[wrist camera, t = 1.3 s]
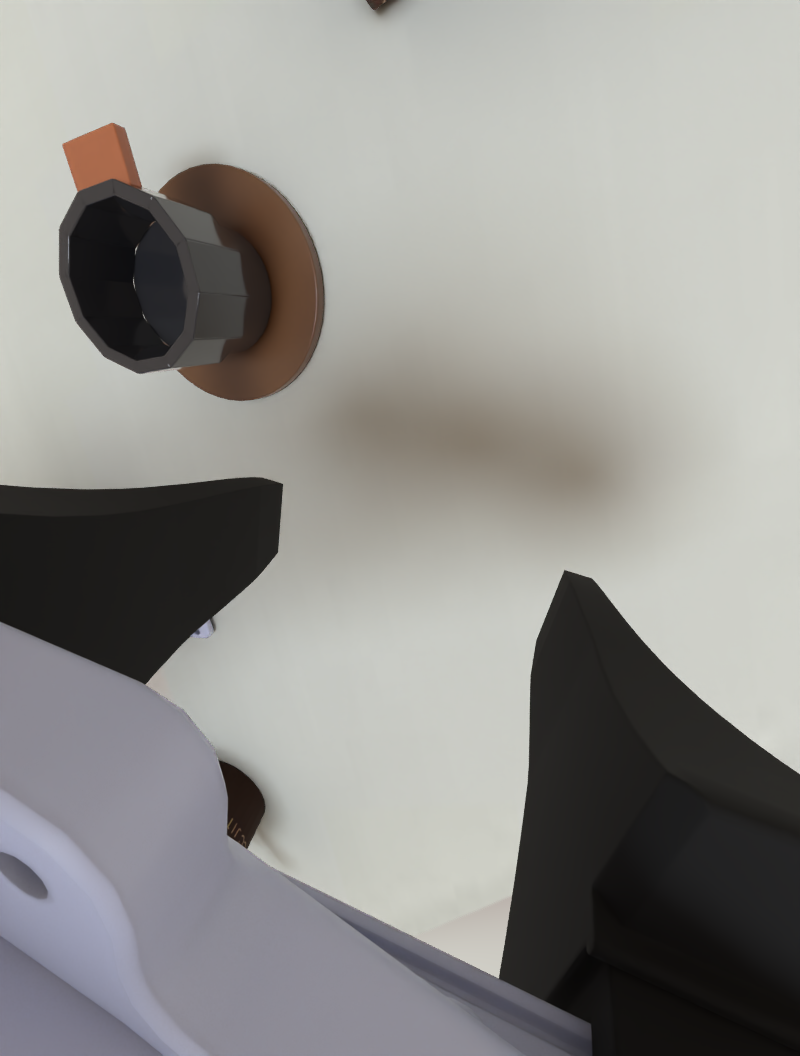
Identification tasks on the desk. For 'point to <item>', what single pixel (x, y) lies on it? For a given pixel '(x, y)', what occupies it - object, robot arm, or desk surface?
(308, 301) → the brown flat disc
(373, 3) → the book
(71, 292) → the dark grey cup
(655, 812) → the robot arm
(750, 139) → the desk surface
